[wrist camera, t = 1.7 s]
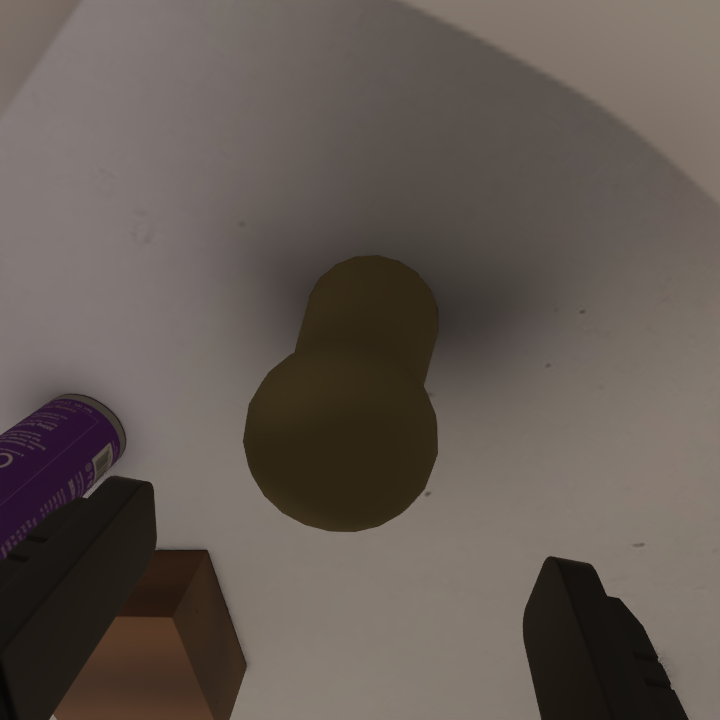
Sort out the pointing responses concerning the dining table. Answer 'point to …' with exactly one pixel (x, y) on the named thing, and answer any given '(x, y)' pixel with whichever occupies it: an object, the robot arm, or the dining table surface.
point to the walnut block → (163, 650)
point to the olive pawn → (350, 401)
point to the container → (53, 461)
